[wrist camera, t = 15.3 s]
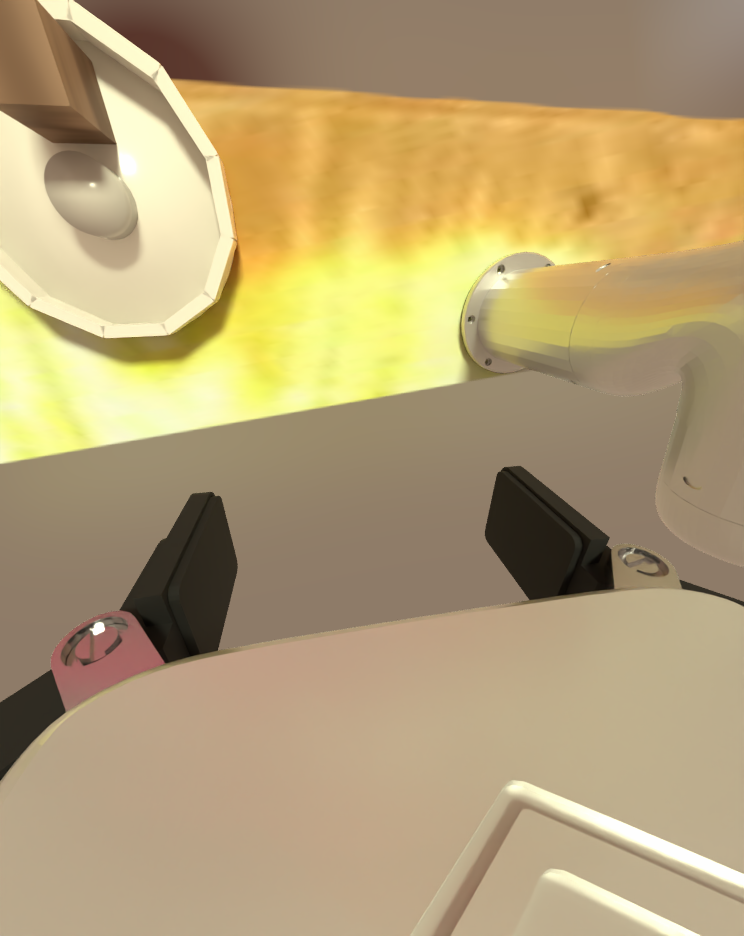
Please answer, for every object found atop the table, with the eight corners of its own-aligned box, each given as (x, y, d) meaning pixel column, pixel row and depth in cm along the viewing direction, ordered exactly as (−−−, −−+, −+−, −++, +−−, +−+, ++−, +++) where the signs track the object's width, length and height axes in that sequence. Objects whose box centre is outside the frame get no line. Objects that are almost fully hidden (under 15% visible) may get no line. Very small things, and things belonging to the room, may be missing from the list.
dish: (202, 39, 25) (189, 3, 22) (254, 328, 34) (250, 331, 31) (-124, 10, 21) (-194, -37, 18) (33, 338, 31) (4, 343, 28)
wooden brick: (91, 61, 23) (32, -6, 18) (116, 144, 26) (70, 106, 20) (21, 57, 23) (-62, -14, 18) (52, 143, 25) (-13, 102, 20)
